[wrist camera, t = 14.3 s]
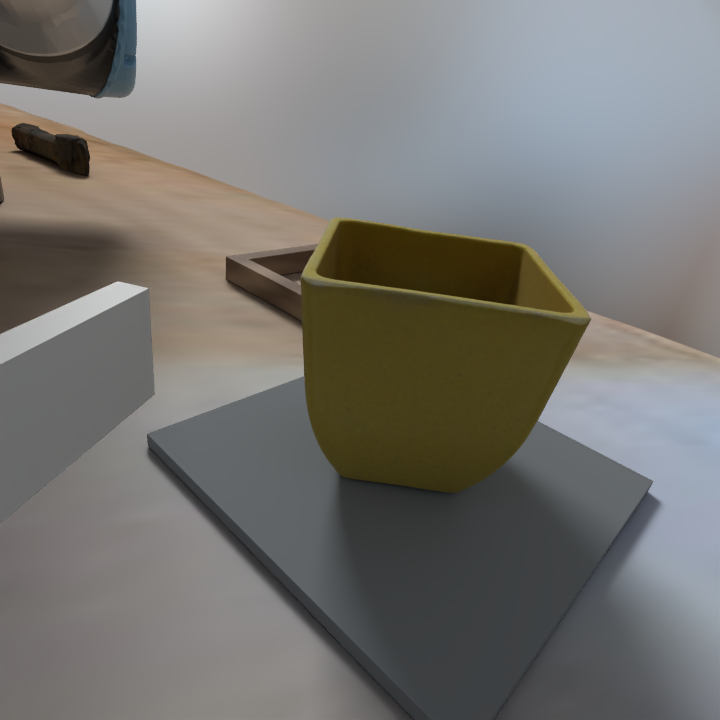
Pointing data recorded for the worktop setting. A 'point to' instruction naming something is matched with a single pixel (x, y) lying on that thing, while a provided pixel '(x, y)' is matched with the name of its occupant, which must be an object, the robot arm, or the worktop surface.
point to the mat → (411, 546)
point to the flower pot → (429, 351)
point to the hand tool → (54, 147)
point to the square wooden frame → (271, 275)
